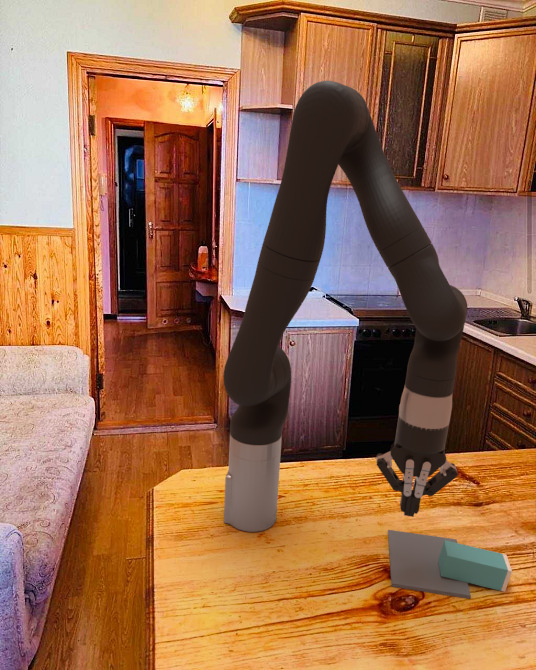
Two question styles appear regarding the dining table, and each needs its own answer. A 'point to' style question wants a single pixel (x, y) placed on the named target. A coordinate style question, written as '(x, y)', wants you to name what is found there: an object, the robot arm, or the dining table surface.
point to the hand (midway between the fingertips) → (408, 513)
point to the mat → (421, 564)
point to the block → (474, 565)
